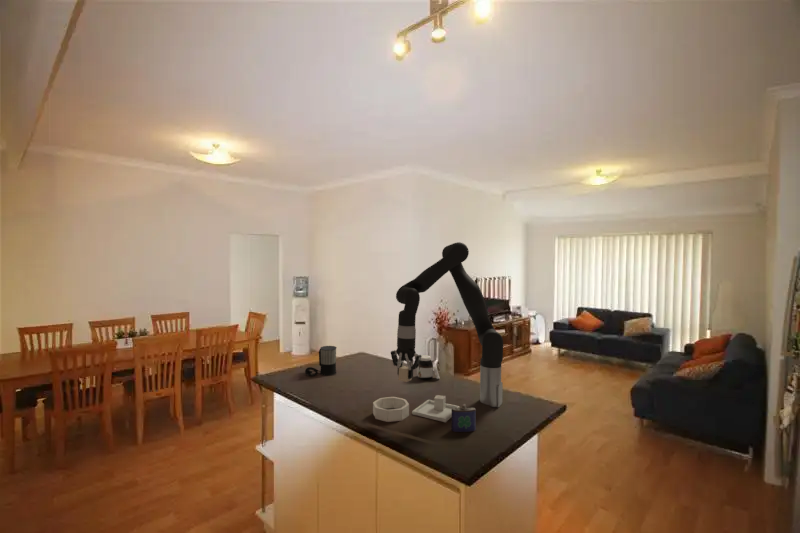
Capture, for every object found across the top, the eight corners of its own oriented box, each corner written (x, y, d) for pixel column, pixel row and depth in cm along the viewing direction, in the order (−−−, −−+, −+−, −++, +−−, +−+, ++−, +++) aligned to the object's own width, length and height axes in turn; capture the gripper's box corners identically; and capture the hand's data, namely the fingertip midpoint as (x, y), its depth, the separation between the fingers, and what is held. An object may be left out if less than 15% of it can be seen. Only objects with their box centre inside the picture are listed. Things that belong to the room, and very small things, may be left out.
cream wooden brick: (411, 379, 154) (412, 367, 154) (406, 382, 150) (407, 369, 150) (403, 377, 156) (403, 365, 156) (398, 380, 152) (398, 368, 152)
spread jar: (414, 376, 207) (415, 355, 207) (433, 373, 211) (433, 353, 211) (423, 382, 196) (423, 360, 196) (442, 380, 200) (443, 358, 200)
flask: (474, 430, 141) (474, 402, 141) (476, 434, 138) (477, 405, 138) (450, 431, 141) (450, 403, 140) (452, 435, 138) (452, 406, 137)
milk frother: (340, 372, 213) (340, 347, 213) (320, 380, 200) (320, 352, 199) (322, 368, 221) (322, 343, 220) (301, 375, 207) (301, 349, 207)
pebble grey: (445, 407, 160) (445, 396, 160) (443, 411, 157) (443, 399, 157) (436, 406, 162) (436, 394, 162) (434, 409, 158) (434, 398, 158)
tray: (459, 411, 159) (459, 406, 159) (445, 424, 146) (445, 419, 146) (428, 404, 167) (428, 399, 167) (412, 416, 154) (412, 411, 154)
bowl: (413, 413, 156) (414, 401, 156) (396, 426, 144) (396, 412, 144) (385, 407, 163) (386, 394, 163) (367, 418, 151) (367, 405, 151)
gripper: (426, 336, 152) (424, 378, 153) (396, 332, 160) (395, 372, 160) (417, 339, 146) (415, 383, 146) (386, 335, 153) (385, 376, 154)
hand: (405, 377), depth 153 cm, fingers closed on cream wooden brick, 4 cm apart
